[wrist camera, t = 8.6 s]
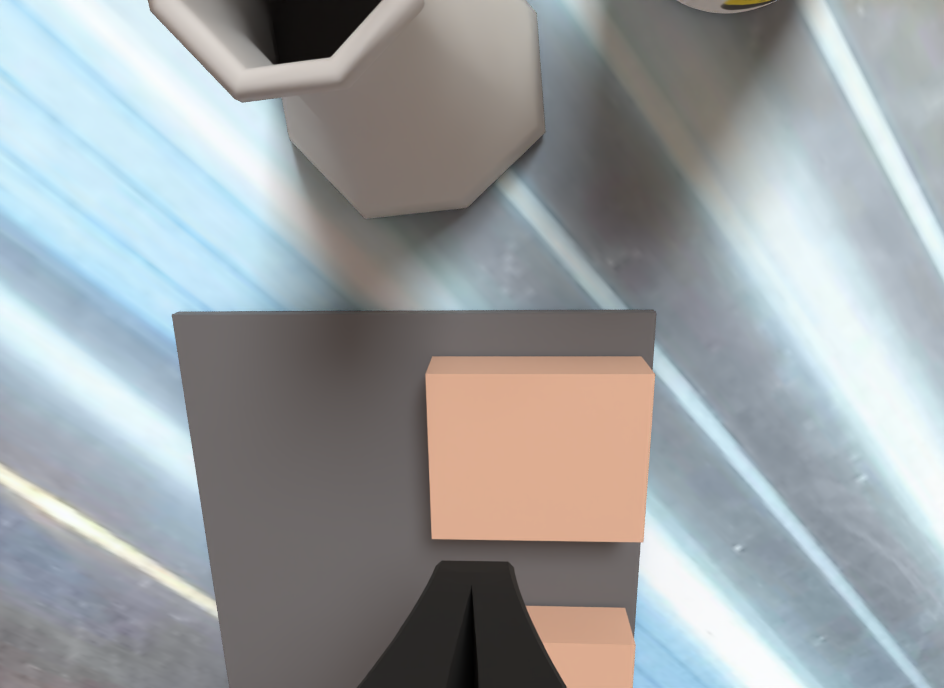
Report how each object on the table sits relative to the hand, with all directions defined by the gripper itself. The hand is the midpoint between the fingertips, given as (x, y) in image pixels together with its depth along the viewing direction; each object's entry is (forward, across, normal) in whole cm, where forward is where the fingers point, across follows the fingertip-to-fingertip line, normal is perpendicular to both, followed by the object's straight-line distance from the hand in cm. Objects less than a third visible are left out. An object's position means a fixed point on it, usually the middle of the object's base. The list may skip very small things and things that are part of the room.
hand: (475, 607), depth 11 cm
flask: (+8, +2, -10) cm, 13 cm away
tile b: (+7, +2, 0) cm, 7 cm away
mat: (+8, +2, +4) cm, 9 cm away
